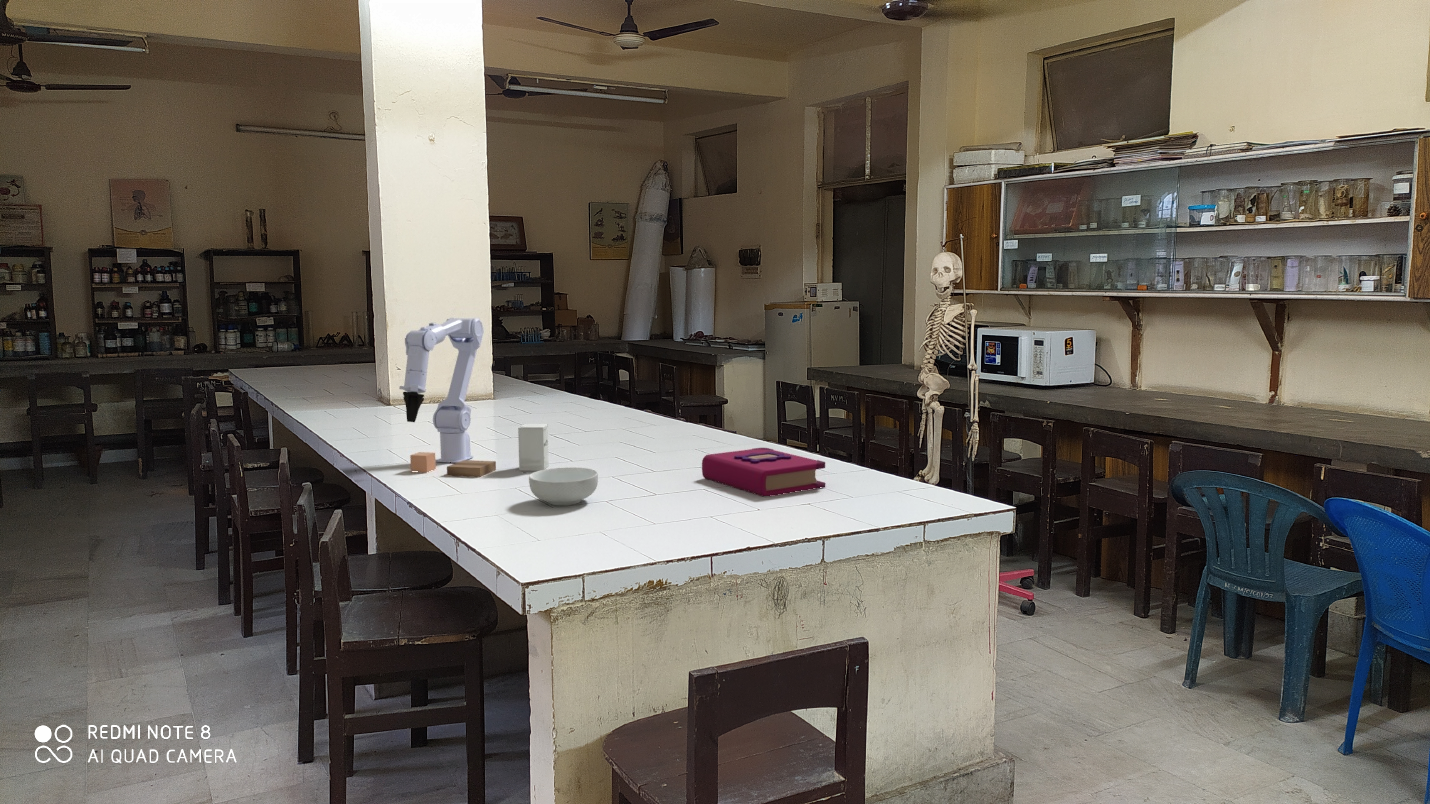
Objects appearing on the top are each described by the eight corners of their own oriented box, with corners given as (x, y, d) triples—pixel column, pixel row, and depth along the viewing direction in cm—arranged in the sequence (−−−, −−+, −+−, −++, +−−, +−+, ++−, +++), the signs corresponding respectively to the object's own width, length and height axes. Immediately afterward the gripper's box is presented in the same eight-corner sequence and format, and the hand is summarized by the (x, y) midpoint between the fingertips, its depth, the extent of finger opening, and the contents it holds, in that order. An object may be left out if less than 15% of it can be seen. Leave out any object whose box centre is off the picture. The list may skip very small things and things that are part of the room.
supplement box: (544, 471, 278) (543, 427, 276) (518, 471, 278) (517, 427, 276) (549, 466, 285) (548, 423, 284) (524, 466, 285) (522, 423, 284)
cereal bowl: (524, 497, 245) (523, 469, 244) (589, 492, 250) (588, 465, 250) (536, 512, 229) (535, 483, 228) (606, 506, 235) (605, 477, 234)
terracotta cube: (420, 469, 282) (419, 452, 282) (435, 469, 281) (435, 452, 281) (411, 472, 278) (410, 455, 277) (427, 473, 277) (426, 455, 276)
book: (762, 499, 243) (762, 469, 242) (701, 480, 266) (701, 452, 265) (827, 488, 254) (827, 460, 253) (764, 471, 278) (764, 445, 277)
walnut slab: (463, 470, 282) (463, 460, 282) (496, 471, 280) (495, 461, 280) (447, 477, 273) (446, 466, 272) (480, 478, 270) (480, 467, 270)
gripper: (401, 374, 280) (396, 421, 278) (401, 366, 266) (395, 416, 264) (427, 377, 282) (422, 424, 280) (428, 369, 268) (422, 418, 266)
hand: (410, 420), depth 272 cm, fingers open, 7 cm apart
